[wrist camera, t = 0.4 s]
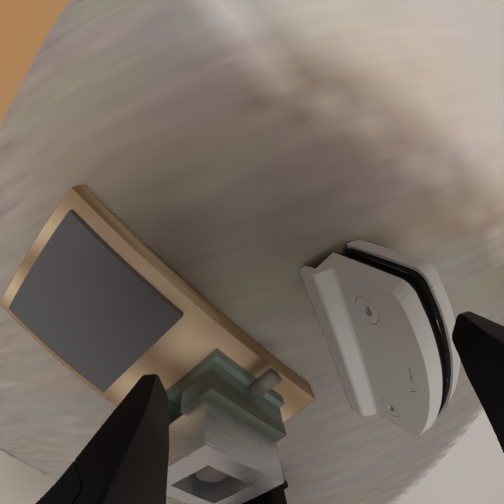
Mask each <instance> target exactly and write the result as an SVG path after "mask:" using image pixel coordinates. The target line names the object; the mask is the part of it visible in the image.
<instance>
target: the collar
mask: <svg viewBox="0 0 504 504" xmlns="http://www.w3.org/2000/svg"><path fill="white" fill-rule="evenodd" d="M207 465H209V466H211V467H213V468H215V469H217V470H219V471H221V472H223V473H225V474H227V476H226V478H225V479H223V480H221V481H218V482H206V481H202V480H200V479H198V478H197V477H196V475H195V472H197V471H198V470H200V469H202V468H204V467H206V466H207ZM282 483H284V479H283V475H282V470H281V465H280V460H279V456H278V451H277V446H276V441H275V439H274V438H272V437H270V436H268V435H266V434H265V433H263V432H261V431H260V430H258V429H256V428H254V427H253V426H251V425H249V424H248V423H246V422H244V421H243V420H241V419H239V418H238V417H236V416H235V415H233V414H231V413H230V412H228V411H227V410H225V409H223V408H222V407H220V406H219V405H217V404H216V403H214V402H213V401H211V400H210V399H208V398H207V397H206V398H205V399H203V400H202V401H201V402H199V403H198V404H197V405H195V406H194V407H193V408H191V409H190V410H189V411H187V412H186V413H185V414H183V415H182V416H181V417H179V418H178V419H176V420H175V421H174V422H172V423H171V424H169V460H168V475H167V491H166V495H167V496H169V497H171V498H174V499H176V500H178V501H181V502H183V503H186V504H242V503H244V502H246V501H249V500H251V499H253V498H255V497H257V496H259V495H261V494H263V493H265V492H267V491H269V490H271V489H273V488H275V487H277V486H279V485H280V484H282Z"/></svg>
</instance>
